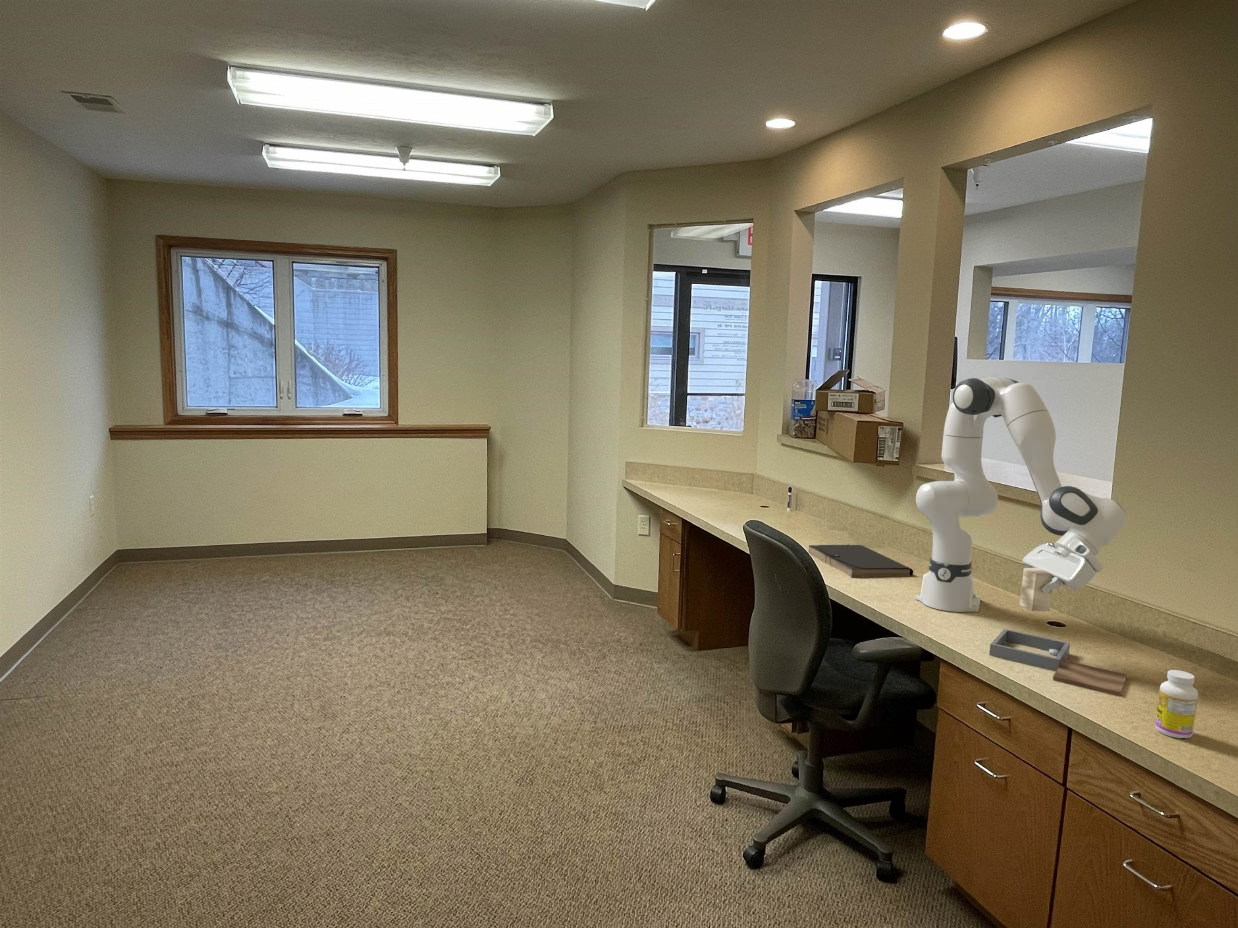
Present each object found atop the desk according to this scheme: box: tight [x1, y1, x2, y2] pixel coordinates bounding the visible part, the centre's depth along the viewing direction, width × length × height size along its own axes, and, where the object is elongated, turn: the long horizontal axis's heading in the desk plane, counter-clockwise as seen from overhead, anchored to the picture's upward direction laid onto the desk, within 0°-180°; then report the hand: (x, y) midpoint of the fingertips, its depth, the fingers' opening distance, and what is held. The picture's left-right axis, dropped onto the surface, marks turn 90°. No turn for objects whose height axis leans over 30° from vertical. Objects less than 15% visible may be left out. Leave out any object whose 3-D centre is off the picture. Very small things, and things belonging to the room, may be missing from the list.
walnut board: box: [1052, 659, 1128, 697], centre depth 199 cm, size 14×14×1 cm
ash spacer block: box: [1019, 567, 1054, 612], centre depth 212 cm, size 5×5×10 cm
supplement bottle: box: [1154, 669, 1199, 739], centre depth 171 cm, size 7×7×13 cm
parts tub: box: [989, 628, 1071, 672], centre depth 214 cm, size 16×16×3 cm
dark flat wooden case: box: [808, 544, 914, 578], centre depth 301 cm, size 33×4×24 cm
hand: (1034, 587), depth 212 cm, fingers closed on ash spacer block, 5 cm apart
